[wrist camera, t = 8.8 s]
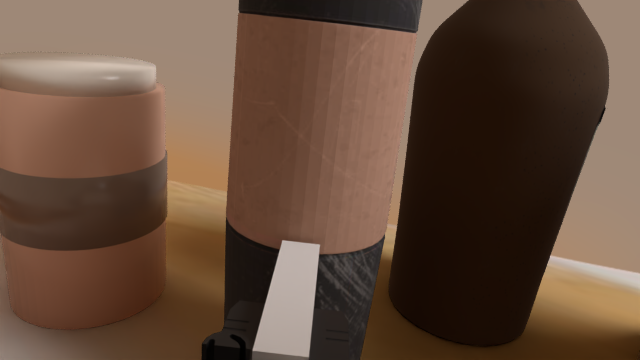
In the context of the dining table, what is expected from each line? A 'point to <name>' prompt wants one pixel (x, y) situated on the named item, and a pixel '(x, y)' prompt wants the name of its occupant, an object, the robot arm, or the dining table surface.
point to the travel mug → (316, 144)
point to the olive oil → (493, 162)
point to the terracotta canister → (82, 187)
